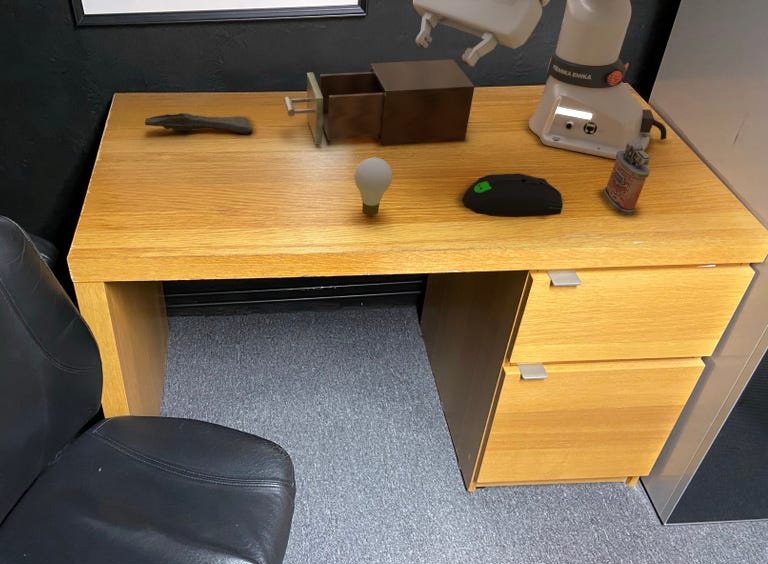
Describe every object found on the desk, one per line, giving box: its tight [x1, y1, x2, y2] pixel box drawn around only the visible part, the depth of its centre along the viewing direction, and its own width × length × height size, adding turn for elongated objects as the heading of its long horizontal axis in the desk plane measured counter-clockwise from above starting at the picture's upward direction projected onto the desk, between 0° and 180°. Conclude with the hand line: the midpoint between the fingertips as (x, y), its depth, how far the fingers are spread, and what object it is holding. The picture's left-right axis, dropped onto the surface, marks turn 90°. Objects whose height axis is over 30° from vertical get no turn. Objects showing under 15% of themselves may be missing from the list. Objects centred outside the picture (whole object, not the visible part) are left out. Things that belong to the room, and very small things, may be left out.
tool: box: [144, 112, 253, 134], centre depth 137 cm, size 21×8×3 cm, turn 101°
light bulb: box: [354, 156, 393, 217], centre depth 111 cm, size 6×6×10 cm
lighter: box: [602, 142, 651, 216], centre depth 113 cm, size 8×3×10 cm, turn 5°
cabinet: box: [369, 59, 476, 147], centre depth 135 cm, size 17×14×11 cm
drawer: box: [283, 71, 385, 145], centre depth 133 cm, size 20×12×9 cm, turn 97°
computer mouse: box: [461, 172, 564, 218], centre depth 117 cm, size 11×16×4 cm
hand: (442, 53), depth 104 cm, fingers open, 8 cm apart
